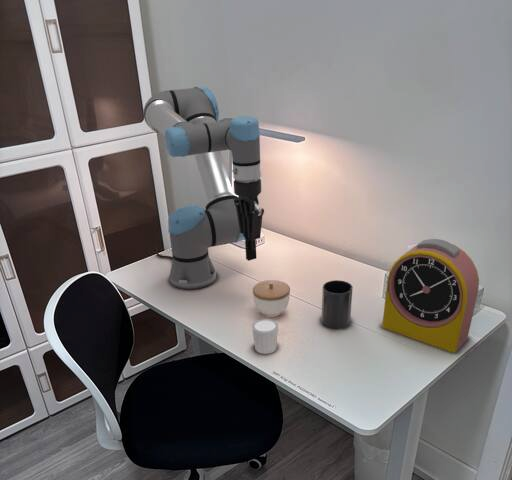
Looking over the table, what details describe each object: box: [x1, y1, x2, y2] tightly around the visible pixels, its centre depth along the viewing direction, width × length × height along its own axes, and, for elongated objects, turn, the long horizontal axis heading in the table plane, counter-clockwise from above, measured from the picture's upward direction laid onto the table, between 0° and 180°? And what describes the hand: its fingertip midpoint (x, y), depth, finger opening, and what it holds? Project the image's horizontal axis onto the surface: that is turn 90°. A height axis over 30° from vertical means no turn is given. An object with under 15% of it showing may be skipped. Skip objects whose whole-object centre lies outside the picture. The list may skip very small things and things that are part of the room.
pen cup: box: [321, 279, 354, 330], centre depth 146 cm, size 8×8×11 cm
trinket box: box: [252, 279, 291, 318], centre depth 152 cm, size 11×11×9 cm
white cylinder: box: [251, 318, 279, 355], centre depth 137 cm, size 7×7×7 cm
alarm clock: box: [381, 238, 480, 353], centre depth 135 cm, size 21×9×26 cm, turn 50°
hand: (251, 258), depth 155 cm, fingers closed
